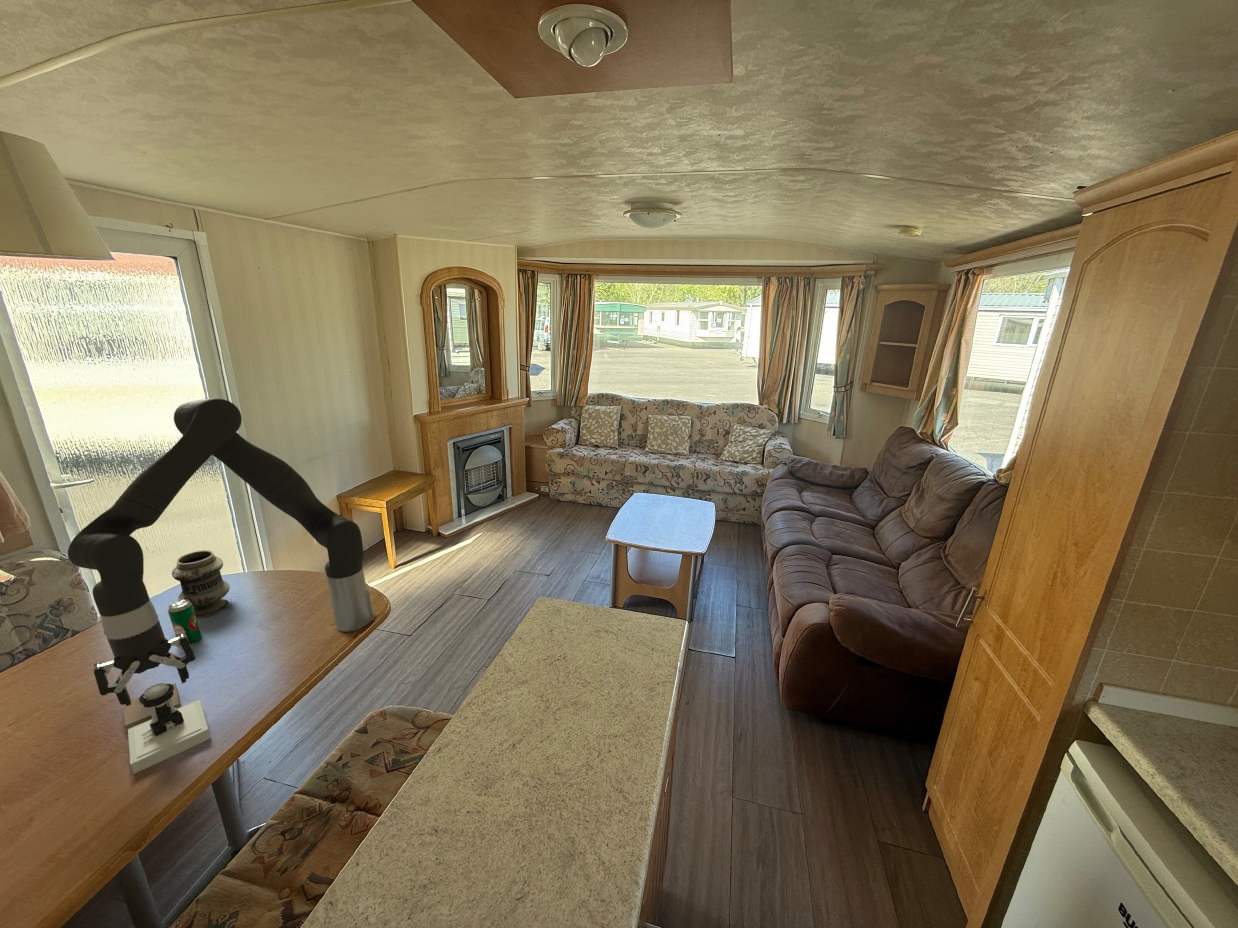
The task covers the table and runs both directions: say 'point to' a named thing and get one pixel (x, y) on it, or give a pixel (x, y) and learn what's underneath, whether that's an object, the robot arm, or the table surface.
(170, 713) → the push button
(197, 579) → the apothecary jar
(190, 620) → the soda can
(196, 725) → the cream tray
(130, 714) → the walnut stand
